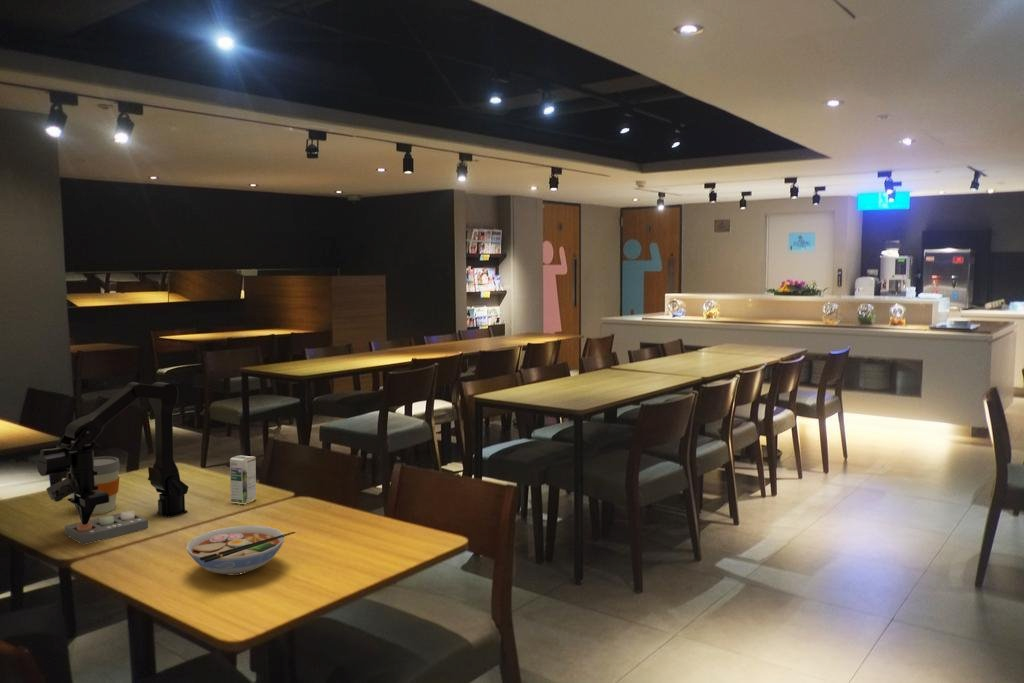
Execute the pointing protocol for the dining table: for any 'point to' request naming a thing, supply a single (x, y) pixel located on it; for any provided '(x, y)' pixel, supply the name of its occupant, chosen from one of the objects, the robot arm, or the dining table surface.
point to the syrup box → (243, 478)
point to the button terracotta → (84, 527)
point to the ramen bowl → (235, 548)
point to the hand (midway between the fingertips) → (84, 524)
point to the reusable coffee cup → (107, 481)
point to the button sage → (106, 520)
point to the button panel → (106, 529)
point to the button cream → (127, 515)
